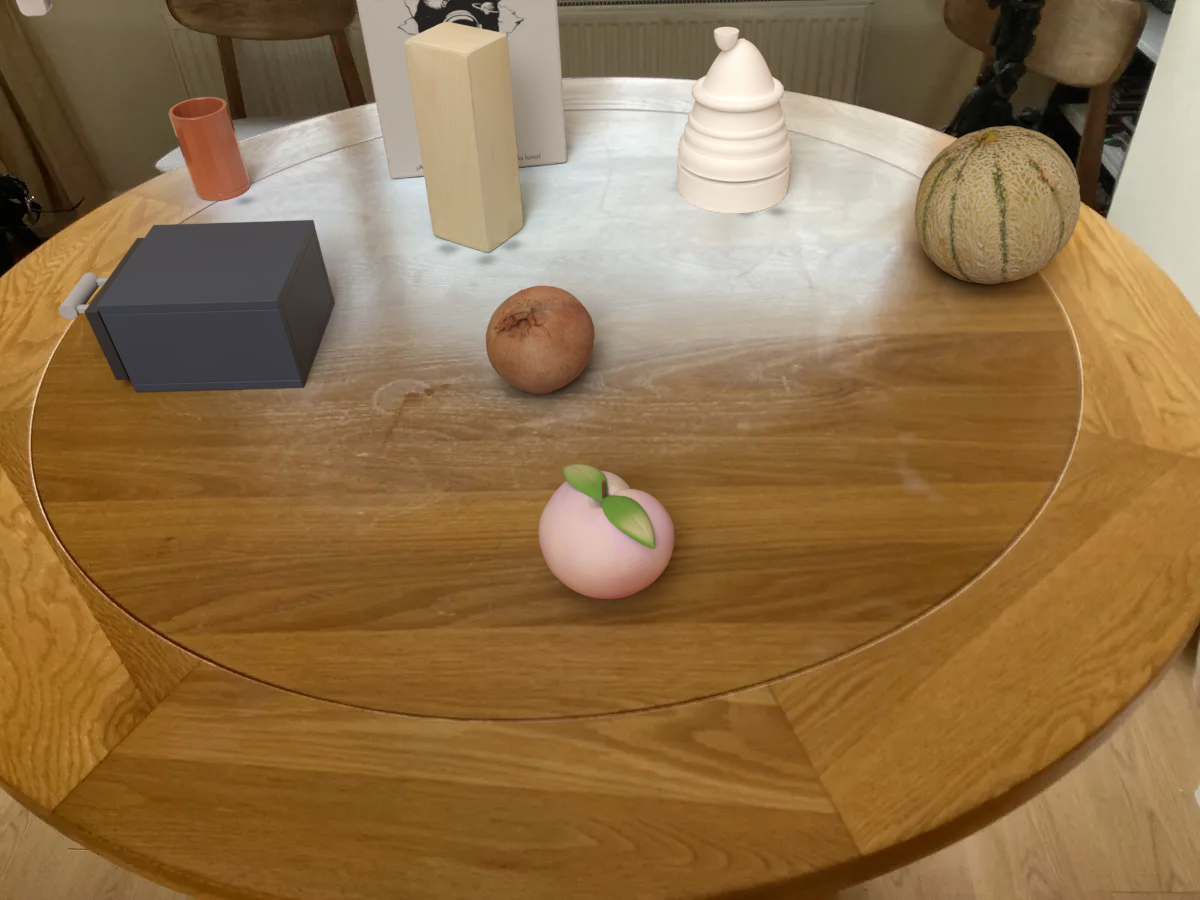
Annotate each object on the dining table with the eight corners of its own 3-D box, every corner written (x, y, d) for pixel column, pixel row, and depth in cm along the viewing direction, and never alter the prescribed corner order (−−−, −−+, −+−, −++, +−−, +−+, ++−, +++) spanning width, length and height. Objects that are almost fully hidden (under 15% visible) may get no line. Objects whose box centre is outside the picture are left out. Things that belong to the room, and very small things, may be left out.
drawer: (65, 382, 87) (30, 313, 82) (117, 304, 96) (89, 239, 91) (270, 376, 86) (247, 307, 81) (303, 299, 96) (284, 232, 91)
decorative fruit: (517, 586, 68) (503, 485, 61) (594, 522, 73) (589, 421, 66) (617, 657, 63) (613, 556, 57) (693, 584, 68) (698, 482, 61)
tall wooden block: (530, 224, 107) (512, 30, 93) (490, 254, 103) (464, 54, 89) (473, 208, 110) (448, 18, 96) (432, 236, 106) (399, 41, 92)
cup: (185, 193, 116) (156, 112, 109) (227, 172, 120) (202, 92, 113) (219, 205, 113) (192, 123, 107) (261, 184, 117) (238, 103, 110)
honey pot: (719, 224, 106) (727, 58, 94) (656, 180, 114) (656, 22, 102) (810, 193, 110) (830, 31, 98) (743, 153, 119) (754, -1, 107)
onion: (532, 431, 85) (491, 378, 77) (493, 354, 90) (450, 296, 81) (625, 378, 85) (594, 319, 76) (581, 303, 90) (548, 240, 81)
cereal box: (561, 138, 124) (547, -77, 107) (567, 163, 118) (553, -59, 102) (392, 153, 122) (351, -63, 105) (390, 180, 117) (347, -44, 100)
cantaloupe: (1089, 293, 93) (1141, 146, 83) (960, 327, 90) (999, 177, 80) (992, 224, 104) (1029, 86, 94) (874, 252, 100) (899, 111, 90)
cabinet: (135, 392, 87) (96, 305, 80) (185, 307, 97) (153, 224, 91) (303, 387, 86) (276, 300, 80) (335, 303, 97) (313, 219, 90)
